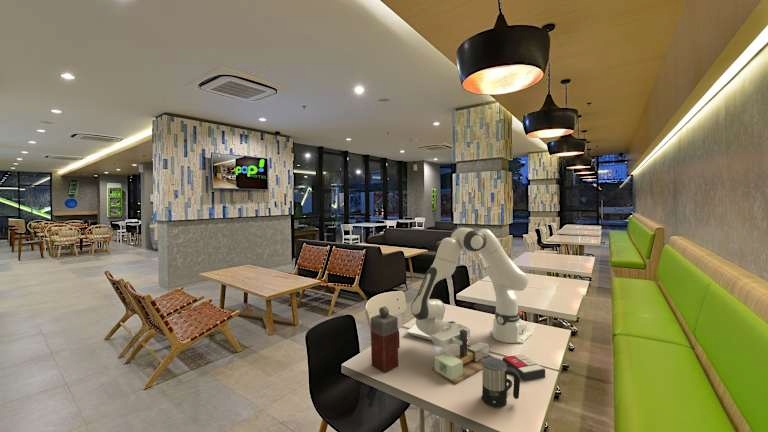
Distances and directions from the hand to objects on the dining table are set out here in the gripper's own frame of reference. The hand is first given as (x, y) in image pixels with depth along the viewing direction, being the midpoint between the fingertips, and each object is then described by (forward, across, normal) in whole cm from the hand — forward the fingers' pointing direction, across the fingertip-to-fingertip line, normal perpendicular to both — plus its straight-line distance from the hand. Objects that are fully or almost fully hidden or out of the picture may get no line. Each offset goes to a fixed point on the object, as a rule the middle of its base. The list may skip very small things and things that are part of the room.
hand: (465, 342), depth 148 cm
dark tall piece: (-1, +3, +10) cm, 10 cm away
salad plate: (-35, +14, +13) cm, 39 cm away
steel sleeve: (-1, +10, +12) cm, 16 cm away
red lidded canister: (-24, -26, +12) cm, 38 cm away
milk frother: (+21, -6, +12) cm, 25 cm away
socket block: (-1, -10, +12) cm, 16 cm away
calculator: (+17, +18, +12) cm, 28 cm away
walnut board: (-1, +2, +12) cm, 12 cm away
